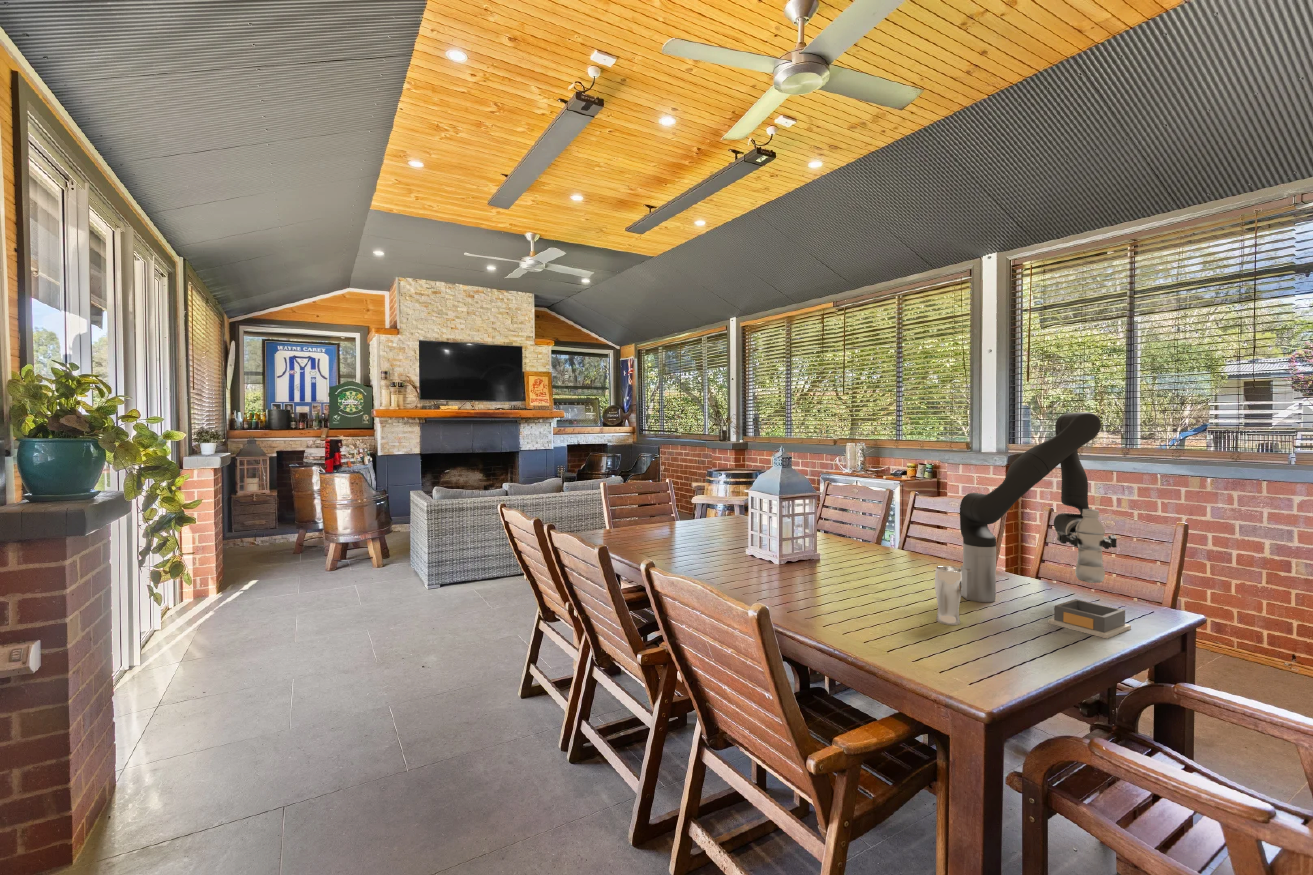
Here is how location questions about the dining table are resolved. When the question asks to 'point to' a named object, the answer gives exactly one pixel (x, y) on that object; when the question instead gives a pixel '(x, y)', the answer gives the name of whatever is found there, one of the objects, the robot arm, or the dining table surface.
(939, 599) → the beer glass
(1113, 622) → the labelled socket
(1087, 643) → the dining table surface
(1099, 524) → the plastic bottle
